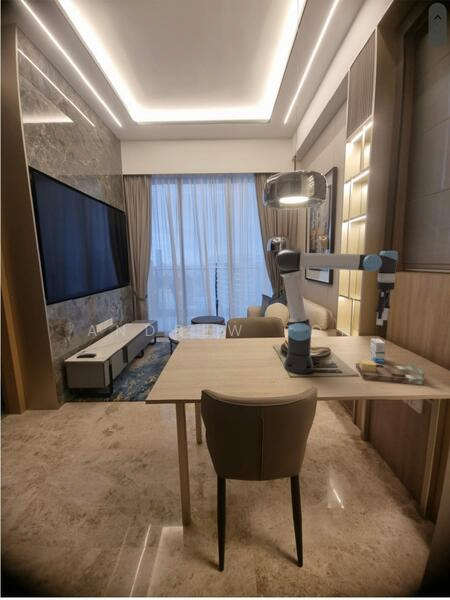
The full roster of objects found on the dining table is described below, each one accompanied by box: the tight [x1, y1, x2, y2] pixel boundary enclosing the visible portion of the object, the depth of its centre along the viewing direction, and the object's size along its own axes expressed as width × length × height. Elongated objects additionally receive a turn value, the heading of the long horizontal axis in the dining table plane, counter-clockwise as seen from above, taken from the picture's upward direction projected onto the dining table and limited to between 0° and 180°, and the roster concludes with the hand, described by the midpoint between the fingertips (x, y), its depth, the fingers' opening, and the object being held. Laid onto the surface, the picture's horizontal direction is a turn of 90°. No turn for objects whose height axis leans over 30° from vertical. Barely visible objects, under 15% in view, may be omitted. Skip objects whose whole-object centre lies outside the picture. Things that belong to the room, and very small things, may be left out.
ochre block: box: [359, 359, 377, 372], centre depth 125 cm, size 6×5×4 cm
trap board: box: [355, 360, 425, 386], centre depth 122 cm, size 25×14×6 cm, turn 75°
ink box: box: [369, 338, 386, 364], centre depth 141 cm, size 9×5×12 cm, turn 168°
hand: (381, 322), depth 128 cm, fingers open, 13 cm apart
